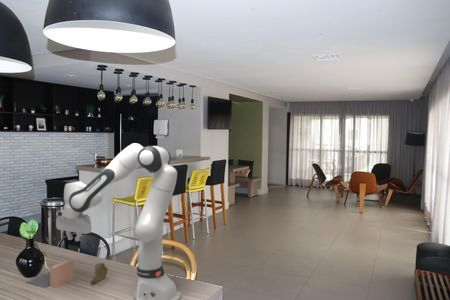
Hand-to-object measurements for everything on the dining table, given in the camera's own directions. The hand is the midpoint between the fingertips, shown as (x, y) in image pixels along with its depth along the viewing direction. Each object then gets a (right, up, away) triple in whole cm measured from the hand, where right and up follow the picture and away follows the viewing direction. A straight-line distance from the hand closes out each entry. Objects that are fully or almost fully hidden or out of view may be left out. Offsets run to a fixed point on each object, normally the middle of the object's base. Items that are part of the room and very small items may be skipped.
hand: (73, 240), depth 180 cm
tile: (-8, -23, +4) cm, 25 cm away
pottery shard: (+11, -23, +6) cm, 26 cm away
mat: (-16, -23, +8) cm, 29 cm away
